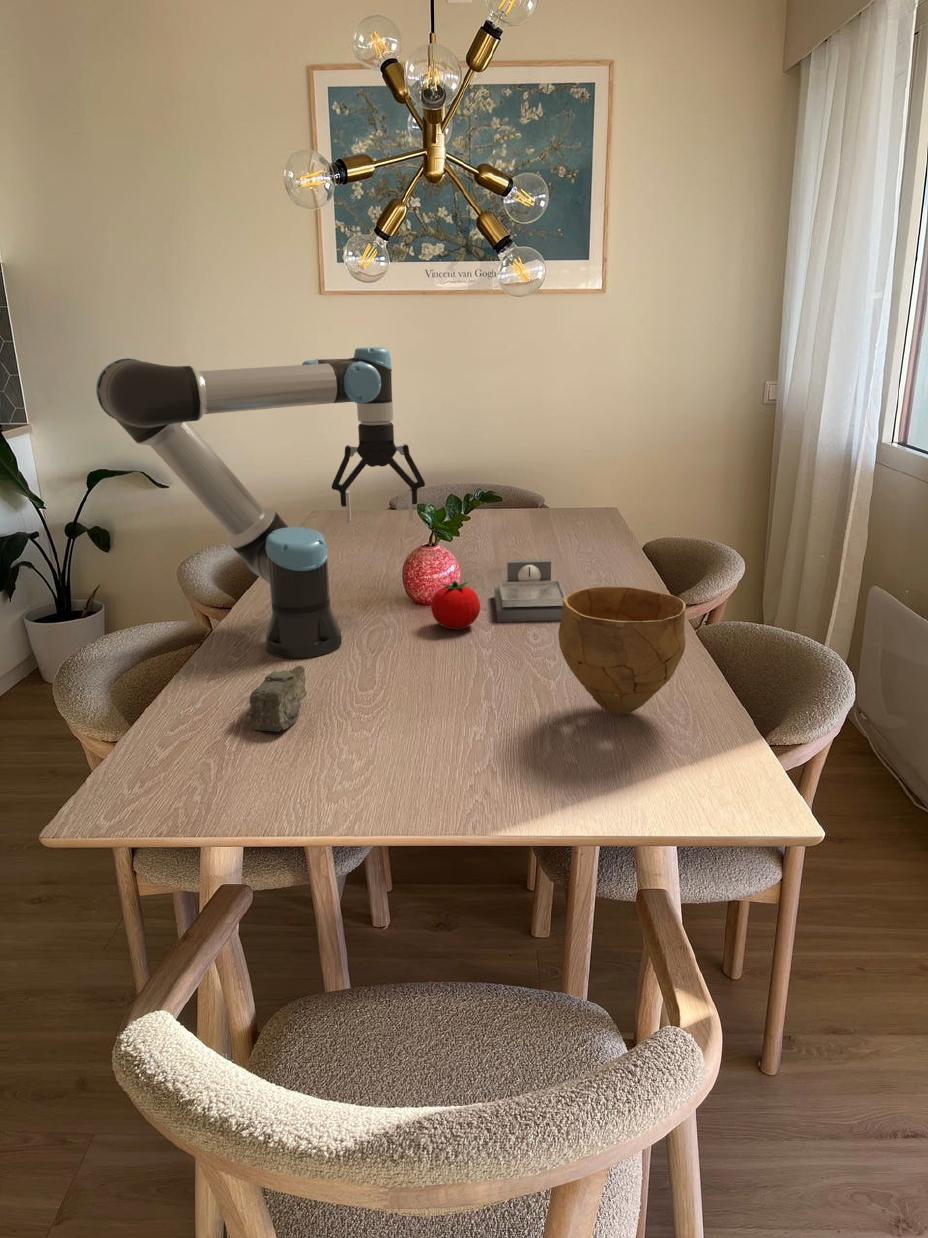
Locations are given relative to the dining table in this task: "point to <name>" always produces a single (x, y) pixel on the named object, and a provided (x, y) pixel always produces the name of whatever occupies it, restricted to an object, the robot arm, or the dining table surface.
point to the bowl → (622, 643)
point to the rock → (277, 700)
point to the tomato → (455, 606)
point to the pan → (531, 593)
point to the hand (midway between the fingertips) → (380, 520)
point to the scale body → (527, 572)
